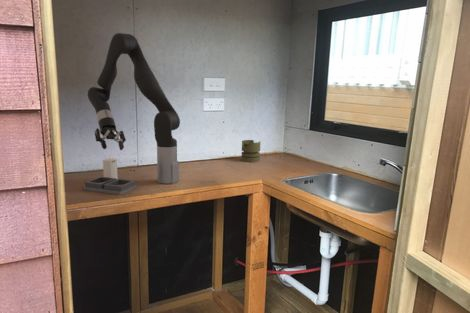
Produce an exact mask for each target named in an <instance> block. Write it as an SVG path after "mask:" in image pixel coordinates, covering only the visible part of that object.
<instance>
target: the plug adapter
mask: <svg viewBox="0 0 470 313" xmlns="http://www.w3.org/2000/svg"><path fill="white" fill-rule="evenodd" d="M102 168H103V170H102V171H103V177H109V178H116V179H119V177H118V159H117V158H111V157H109V158H105V159H103V160H102Z"/></svg>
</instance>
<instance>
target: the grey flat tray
mask: <svg viewBox="0 0 470 313" xmlns="http://www.w3.org/2000/svg"><path fill="white" fill-rule="evenodd" d="M136 182H137V181H136V180H133V179H132V180H131V179H124V178H118V179H116V178H109V177H104V176H98V177H96V178H92V179H90V180H88V181H84V186H82V190H83V191H91V192H98V193H103V194H104V193H105V194H113V195H123V194H125V193H127V192H129V191H131V190H134V189H136V188H137V186H138V185H137V183H136Z"/></svg>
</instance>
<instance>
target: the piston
mask: <svg viewBox="0 0 470 313" xmlns="http://www.w3.org/2000/svg"><path fill="white" fill-rule="evenodd" d="M254 140H255V139H245V140H242V141H241V162H243V163H249V164H250V163H254V164H255V163H259V162H261V140H260V141H258V142H254Z"/></svg>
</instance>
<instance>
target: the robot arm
mask: <svg viewBox="0 0 470 313" xmlns="http://www.w3.org/2000/svg"><path fill="white" fill-rule="evenodd" d="M121 55H128V57H129V58H130V60H131V63H132V65H133V69H134V70H133V79H134V82H135V83H136V85H137V86H136V87H137V88H138V89H139V91H140V93H141V95H143V96H144V97H145V98H146V99H147V100H148V101H149V102H150V103H151V104H153V106H154V107H156V110H157V111H158V113H156V114H155V116H154V120H153V129H154V130H153V131H154V139H155V141H156V161H157V162H156V167H157V168H156V169H157V170H156V172H157V183H158V184H164V185H165V184H167V185H168V184H173V185H174V184H175V183H177V182H178V181H180V163H179V161H178V141H177V139H176V138H174V137H173V133H172V131H175V130H177V129H179V128H180V125H181V120H180V116H179V115H178V114H179V113H177V111H176V110H175V108H174V107H173V105H172V104H171V103H170V101H169V99H168V98H167V96H166V94H165V93H164V91H163V89H162V88H161V86H160V83H159V81H158V80H157V78H156V76H155V74H154V72H153V71H152V69H151V67H150V65H149V64H148V61H147V60H146V58H145V55H144V53H143V51H142V49H141V46H140V44H139V42H138V39H137V38H136V37H135V36H134V35H133V34H130V33H123V32H121V33H119V32H117V33H115V34H113V35H112V38H111V40H110V44H109V46H108V51H107V55H106V57H105V58H106V59H105V61H104V65H103V68H102V69H101V73H100V74H99V77H98V79H97V81H96V82H97V85H98V86H99V87H97V86H92V87H90V88H89V89H88V90H87V97H88V100H89V102H90V103H91V105H92V106H93V108H94V110H95V113H96V119H97V120H96V121H97V124H98V128H97V127H96V128H95V130H94V136H95V141H96V142H99V143H100V145H101V148H102V149H103V150H106V149H107V148H108V147H107V143H106V142H107V141H106V140H113V141H115V142H116V143H117V144H118V147H119V150H120V151H122V150H124V148H125V146H124V143H125V142H126V141H127V140H126V136H125V134H124V133H125V132H124V131H123V130H120V131H118V130H117V126H116V125H117V124H116V122H115V119H114V115H113V113H112V111H111V107H110V104H109V103H108V101H109V100H110V98H111V91H112V86H113V85H114V82H115V80H116V77H117V75H118V68H117V65H118V64H117V63H118V59H119V58H120V56H121ZM101 135H102V137H101Z"/></svg>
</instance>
